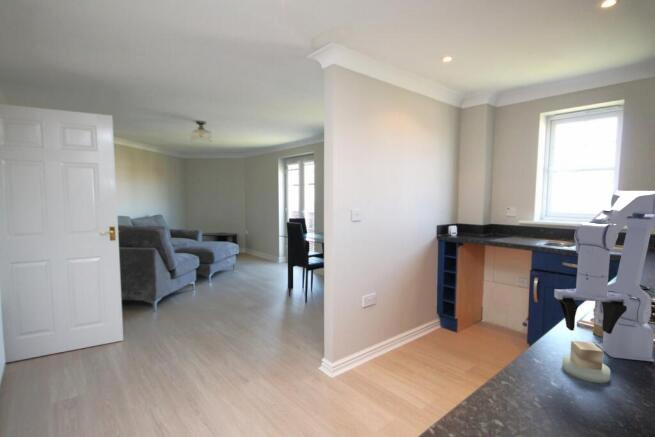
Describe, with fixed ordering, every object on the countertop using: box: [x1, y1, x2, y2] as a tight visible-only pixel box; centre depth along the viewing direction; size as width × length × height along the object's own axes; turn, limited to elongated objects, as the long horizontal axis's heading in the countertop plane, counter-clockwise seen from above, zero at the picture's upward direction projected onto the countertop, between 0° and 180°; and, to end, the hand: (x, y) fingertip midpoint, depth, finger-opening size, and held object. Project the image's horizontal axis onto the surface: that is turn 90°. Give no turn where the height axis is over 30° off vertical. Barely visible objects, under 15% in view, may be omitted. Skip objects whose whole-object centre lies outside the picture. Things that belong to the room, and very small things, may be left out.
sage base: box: [561, 354, 611, 384], centre depth 79 cm, size 9×9×2 cm
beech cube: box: [569, 340, 604, 370], centre depth 78 cm, size 4×4×4 cm
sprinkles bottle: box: [592, 301, 604, 338], centre depth 99 cm, size 5×5×14 cm
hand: (588, 330), depth 78 cm, fingers open, 7 cm apart
